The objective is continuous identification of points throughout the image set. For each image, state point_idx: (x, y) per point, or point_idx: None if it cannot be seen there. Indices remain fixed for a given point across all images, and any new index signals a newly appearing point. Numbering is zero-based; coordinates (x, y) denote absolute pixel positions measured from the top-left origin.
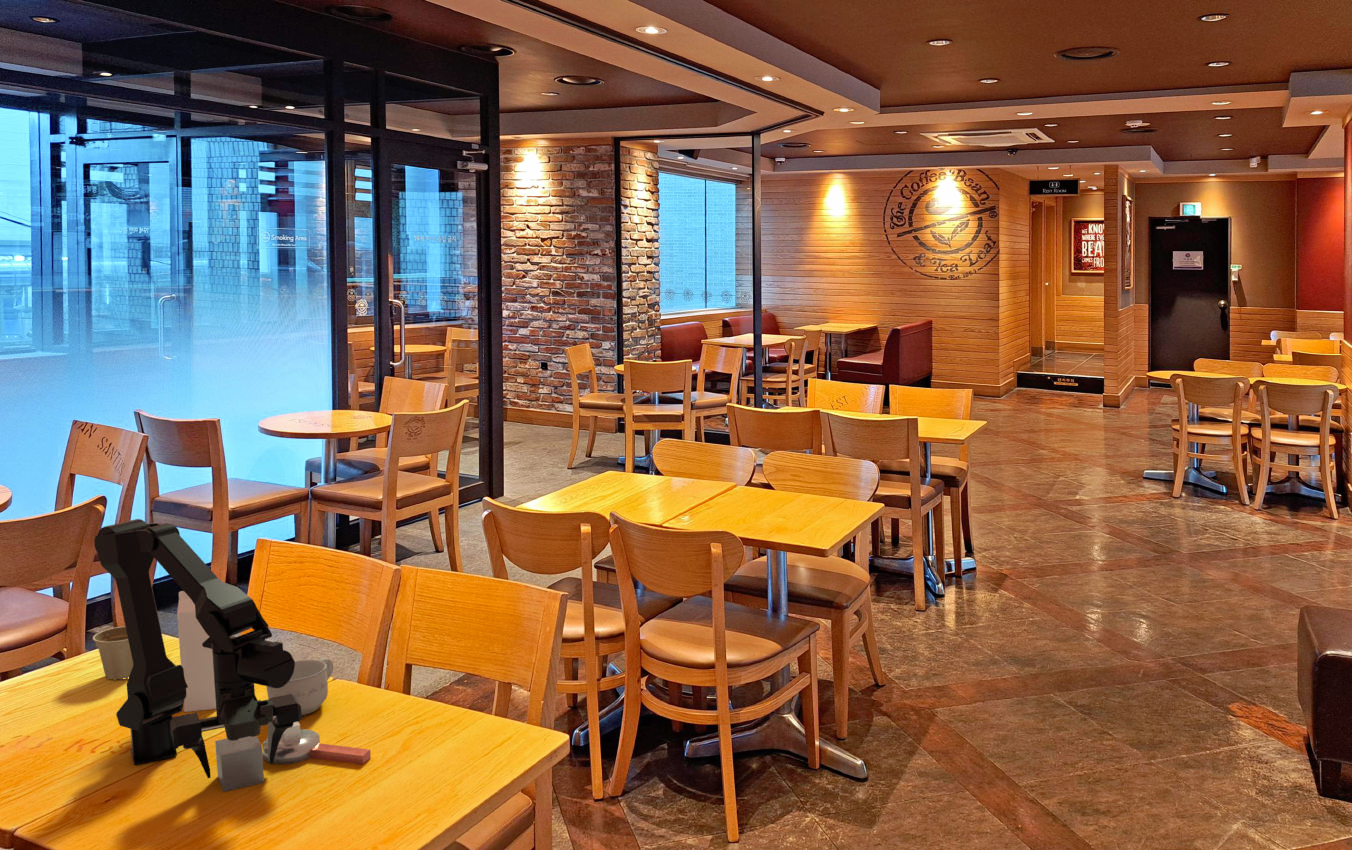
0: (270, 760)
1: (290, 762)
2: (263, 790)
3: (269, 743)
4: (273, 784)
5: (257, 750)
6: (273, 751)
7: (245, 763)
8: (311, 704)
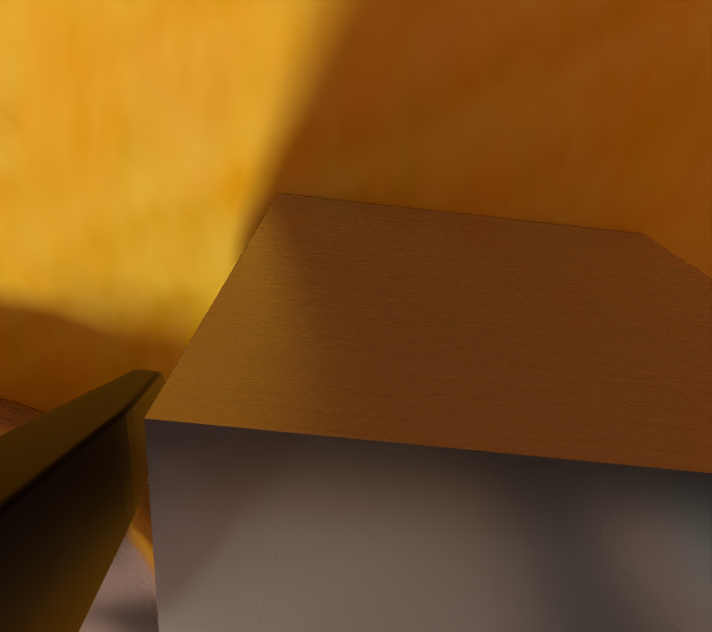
0: (139, 387)
1: (7, 408)
2: (327, 10)
3: (44, 583)
4: (205, 91)
5: (266, 384)
6: (45, 436)
7: (481, 309)
8: None
